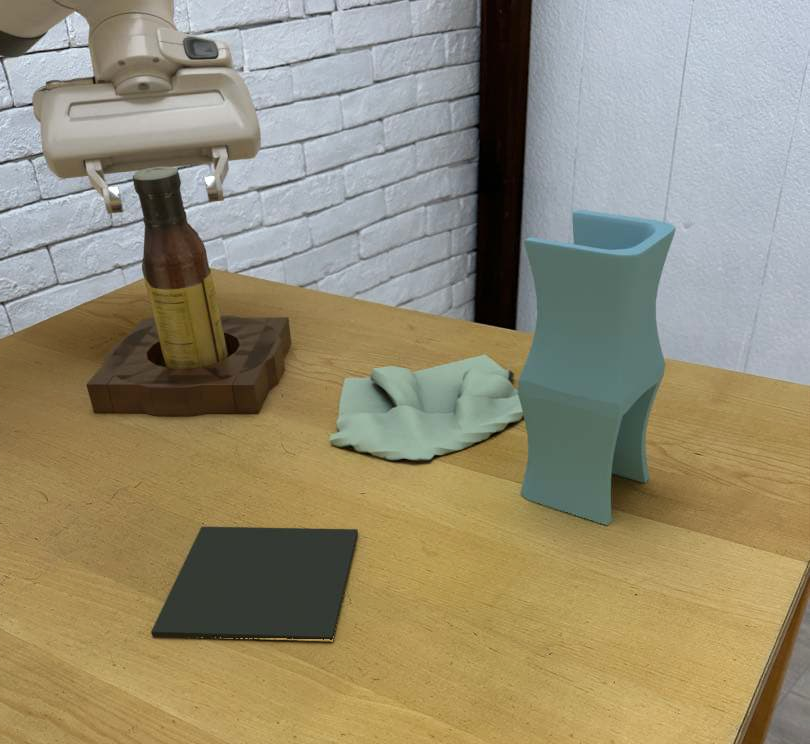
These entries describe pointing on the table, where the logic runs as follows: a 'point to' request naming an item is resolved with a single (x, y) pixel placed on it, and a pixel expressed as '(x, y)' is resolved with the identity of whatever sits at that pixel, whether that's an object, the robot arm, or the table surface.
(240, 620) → the mat
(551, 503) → the teal waisted open shell
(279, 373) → the bottle rack
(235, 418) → the table surface
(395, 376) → the cloth
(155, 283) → the sauce bottle
